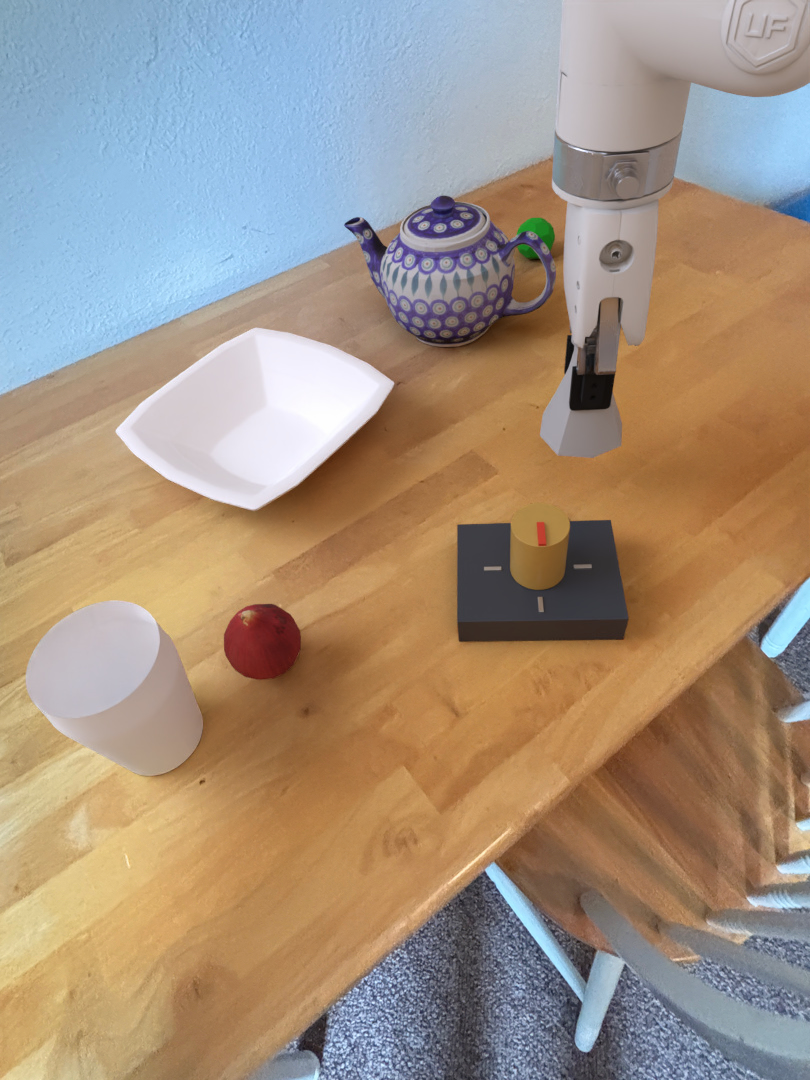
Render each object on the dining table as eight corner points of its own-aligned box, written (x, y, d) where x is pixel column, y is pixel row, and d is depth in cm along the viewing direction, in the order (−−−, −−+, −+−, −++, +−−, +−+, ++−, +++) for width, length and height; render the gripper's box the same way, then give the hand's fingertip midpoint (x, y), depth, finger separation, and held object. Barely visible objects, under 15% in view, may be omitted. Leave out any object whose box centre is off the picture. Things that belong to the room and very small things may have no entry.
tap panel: (606, 541, 62) (611, 518, 60) (623, 639, 56) (629, 617, 53) (458, 545, 64) (457, 523, 61) (458, 641, 57) (457, 620, 55)
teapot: (571, 306, 85) (582, 179, 74) (524, 381, 77) (529, 252, 66) (389, 273, 95) (374, 155, 83) (330, 337, 86) (304, 216, 75)
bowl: (117, 475, 74) (93, 435, 70) (270, 357, 85) (257, 316, 81) (267, 567, 64) (250, 526, 60) (419, 420, 75) (414, 376, 71)
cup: (159, 665, 59) (96, 580, 50) (242, 711, 55) (191, 629, 46) (78, 758, 54) (-7, 682, 45) (164, 815, 51) (90, 746, 42)
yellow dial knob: (509, 547, 59) (509, 500, 55) (562, 546, 59) (567, 498, 54) (511, 590, 56) (512, 544, 52) (567, 589, 56) (573, 543, 51)
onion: (272, 624, 60) (246, 567, 54) (324, 655, 58) (303, 599, 52) (225, 675, 58) (192, 622, 51) (277, 710, 55) (248, 658, 49)
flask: (530, 411, 64) (534, 314, 56) (609, 399, 64) (624, 300, 56) (549, 466, 59) (557, 369, 52) (634, 453, 59) (655, 354, 52)
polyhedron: (546, 268, 91) (548, 232, 88) (510, 262, 93) (510, 227, 89) (558, 248, 94) (560, 213, 90) (523, 244, 96) (524, 209, 92)
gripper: (705, 217, 39) (650, 459, 53) (653, 102, 49) (618, 330, 63) (565, 228, 39) (547, 463, 54) (543, 112, 50) (533, 335, 64)
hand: (586, 389), depth 58 cm, fingers closed on flask, 3 cm apart
